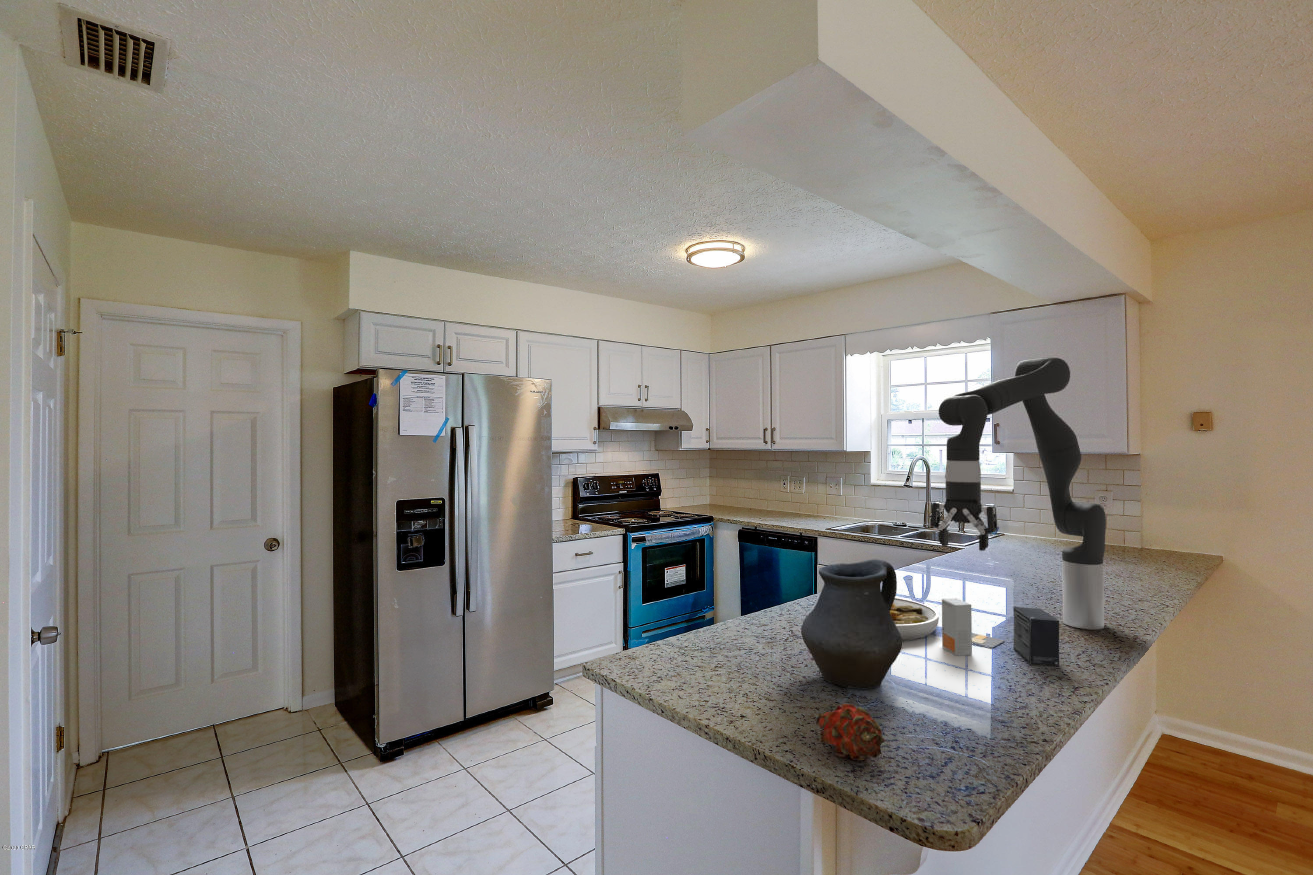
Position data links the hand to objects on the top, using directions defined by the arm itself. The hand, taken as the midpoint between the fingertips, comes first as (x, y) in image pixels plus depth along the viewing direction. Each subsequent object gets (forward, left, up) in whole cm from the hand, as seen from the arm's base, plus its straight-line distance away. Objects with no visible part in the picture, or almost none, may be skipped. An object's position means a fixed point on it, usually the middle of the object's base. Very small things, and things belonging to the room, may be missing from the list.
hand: (963, 548), depth 145 cm
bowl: (-5, -25, -26) cm, 36 cm away
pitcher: (+34, -9, -25) cm, 43 cm away
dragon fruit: (+62, +7, -25) cm, 67 cm away
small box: (-9, +12, -25) cm, 30 cm away
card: (-12, -2, -25) cm, 28 cm away
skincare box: (0, -2, -25) cm, 25 cm away
